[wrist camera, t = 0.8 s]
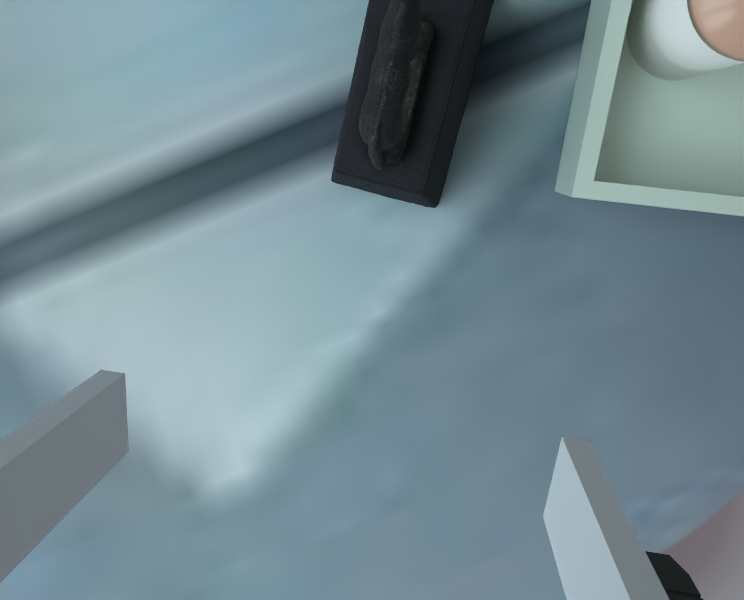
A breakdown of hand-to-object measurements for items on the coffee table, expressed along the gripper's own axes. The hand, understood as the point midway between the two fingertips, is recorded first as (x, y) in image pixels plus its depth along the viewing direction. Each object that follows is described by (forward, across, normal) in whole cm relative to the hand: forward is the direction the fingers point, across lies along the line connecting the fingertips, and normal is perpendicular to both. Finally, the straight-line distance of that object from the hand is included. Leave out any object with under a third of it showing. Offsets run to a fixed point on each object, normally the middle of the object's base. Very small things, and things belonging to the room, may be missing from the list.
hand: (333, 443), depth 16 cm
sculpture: (+23, 0, +11) cm, 25 cm away
